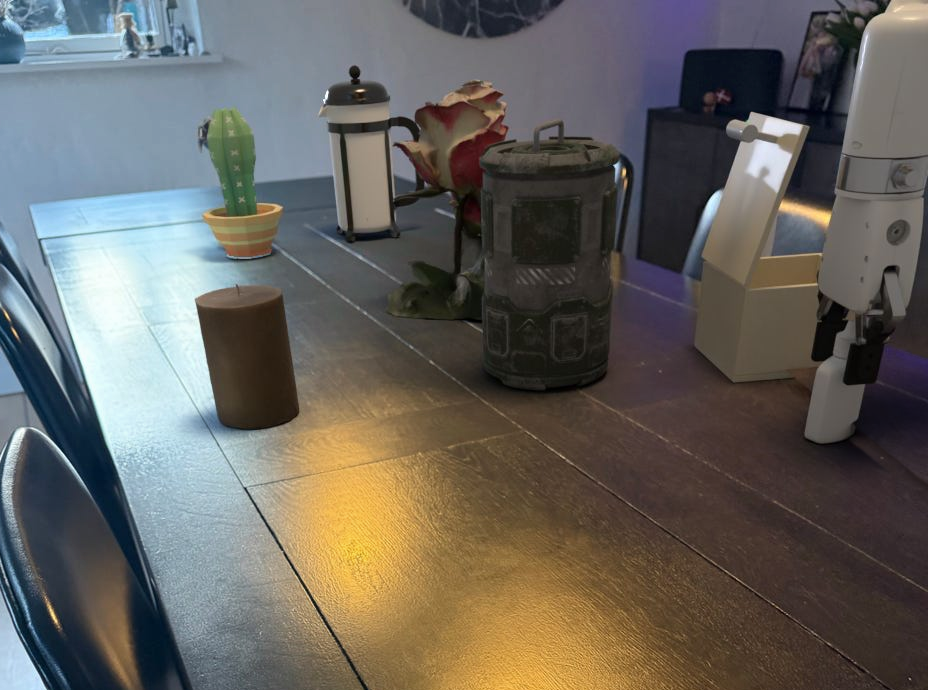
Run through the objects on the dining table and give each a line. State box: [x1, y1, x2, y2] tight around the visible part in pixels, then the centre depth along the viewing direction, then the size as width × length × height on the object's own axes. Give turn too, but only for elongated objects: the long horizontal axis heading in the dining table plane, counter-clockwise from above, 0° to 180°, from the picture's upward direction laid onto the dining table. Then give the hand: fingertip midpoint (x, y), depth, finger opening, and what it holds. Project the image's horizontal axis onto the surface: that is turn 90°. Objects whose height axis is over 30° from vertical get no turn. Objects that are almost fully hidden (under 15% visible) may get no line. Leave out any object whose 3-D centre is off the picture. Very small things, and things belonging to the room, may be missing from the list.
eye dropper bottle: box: [803, 319, 866, 445], centre depth 94 cm, size 4×6×12 cm
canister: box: [479, 118, 621, 392], centre depth 110 cm, size 16×16×28 cm
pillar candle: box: [194, 283, 300, 430], centre depth 106 cm, size 10×10×15 cm
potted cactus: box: [195, 107, 284, 257], centre depth 175 cm, size 15×15×25 cm
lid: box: [700, 111, 811, 287], centre depth 107 cm, size 16×15×5 cm
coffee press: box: [317, 65, 426, 243], centre depth 184 cm, size 17×16×30 cm
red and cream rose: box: [367, 79, 510, 321], centre depth 139 cm, size 26×29×30 cm
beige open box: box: [693, 252, 873, 383], centre depth 115 cm, size 16×15×11 cm
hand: (842, 370), depth 94 cm, fingers open, 6 cm apart
